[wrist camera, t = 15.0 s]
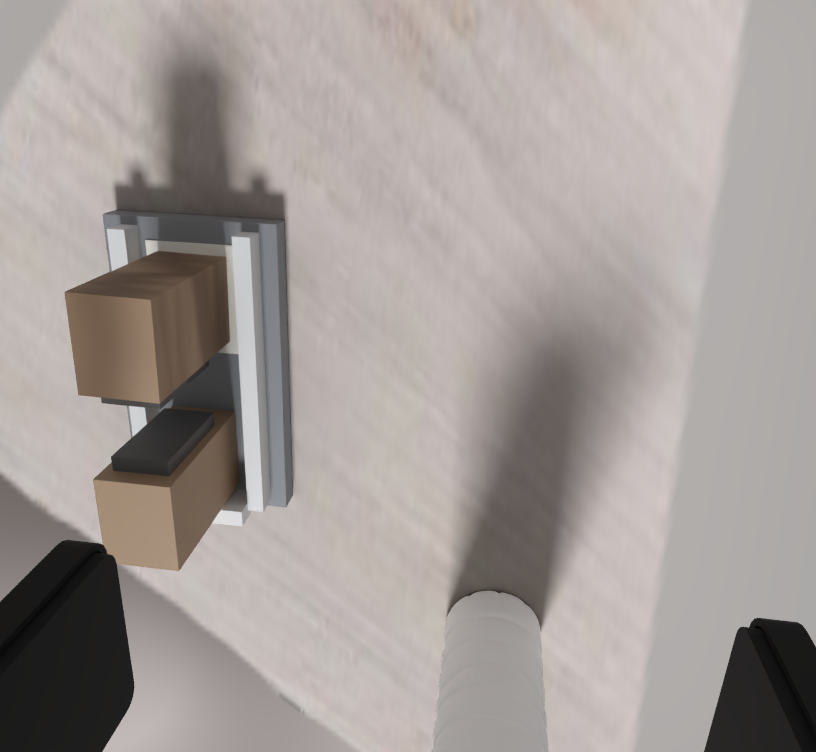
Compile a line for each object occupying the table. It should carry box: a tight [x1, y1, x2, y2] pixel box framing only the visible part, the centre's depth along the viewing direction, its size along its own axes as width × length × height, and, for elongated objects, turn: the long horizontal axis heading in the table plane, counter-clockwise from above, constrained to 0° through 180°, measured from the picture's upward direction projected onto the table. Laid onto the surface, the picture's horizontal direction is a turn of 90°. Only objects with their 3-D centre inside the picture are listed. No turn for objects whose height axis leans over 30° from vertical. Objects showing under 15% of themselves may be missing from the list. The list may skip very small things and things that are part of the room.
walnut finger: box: [65, 251, 230, 409], centre depth 36 cm, size 4×6×9 cm
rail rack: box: [93, 210, 293, 571], centre depth 38 cm, size 18×10×10 cm, turn 178°
